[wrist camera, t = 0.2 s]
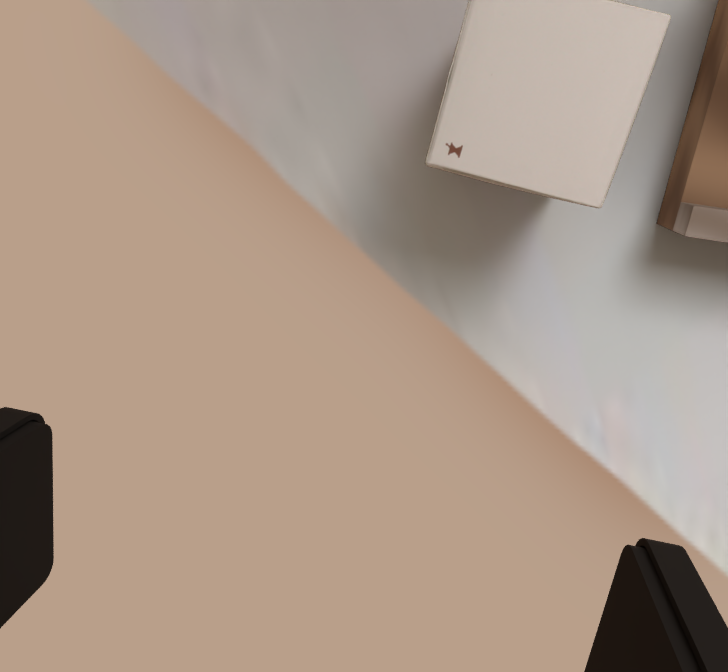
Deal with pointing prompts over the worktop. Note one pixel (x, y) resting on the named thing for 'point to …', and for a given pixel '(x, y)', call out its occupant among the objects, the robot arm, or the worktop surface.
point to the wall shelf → (703, 148)
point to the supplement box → (545, 94)
